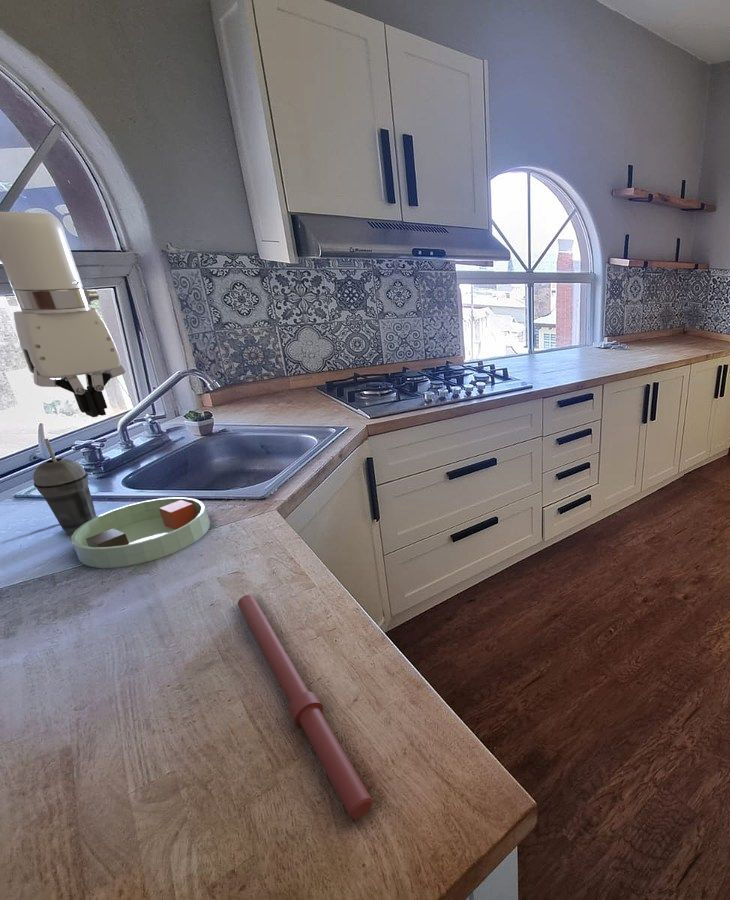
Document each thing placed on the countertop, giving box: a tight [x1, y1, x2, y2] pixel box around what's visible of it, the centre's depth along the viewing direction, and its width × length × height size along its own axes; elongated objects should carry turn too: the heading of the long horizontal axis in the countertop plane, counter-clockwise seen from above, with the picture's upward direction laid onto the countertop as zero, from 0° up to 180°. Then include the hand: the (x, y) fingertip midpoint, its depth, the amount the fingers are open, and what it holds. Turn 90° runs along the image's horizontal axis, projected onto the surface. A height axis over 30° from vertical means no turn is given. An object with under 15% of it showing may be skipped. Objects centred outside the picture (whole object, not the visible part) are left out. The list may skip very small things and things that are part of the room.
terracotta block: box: [159, 500, 197, 530], centre depth 101 cm, size 4×4×4 cm
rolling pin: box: [237, 594, 374, 821], centre depth 65 cm, size 45×3×3 cm, turn 46°
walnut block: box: [86, 529, 129, 547], centre depth 91 cm, size 4×4×4 cm
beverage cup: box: [32, 438, 97, 536], centre depth 96 cm, size 7×7×20 cm
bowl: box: [70, 496, 211, 569], centre depth 96 cm, size 19×19×4 cm
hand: (96, 414), depth 83 cm, fingers closed
